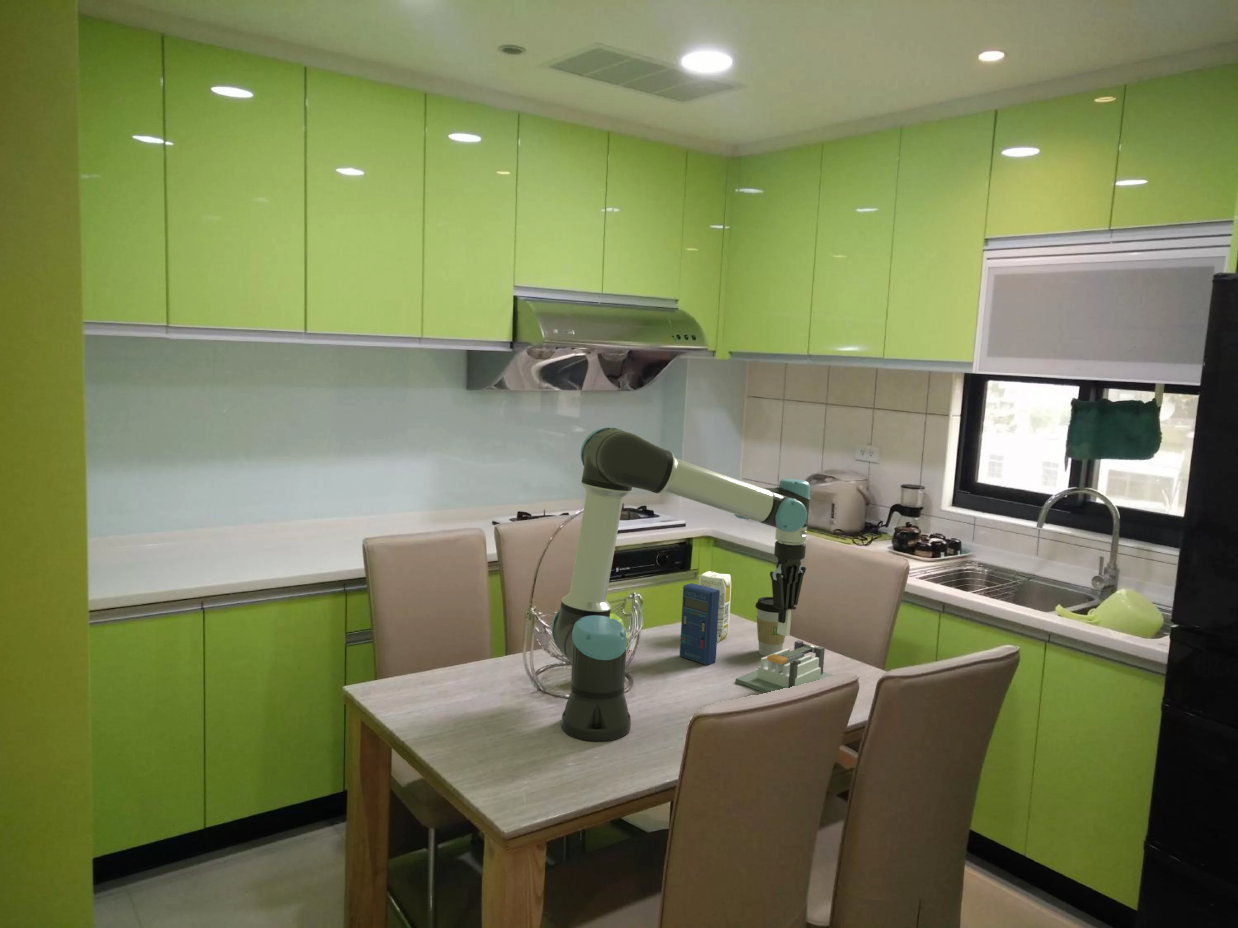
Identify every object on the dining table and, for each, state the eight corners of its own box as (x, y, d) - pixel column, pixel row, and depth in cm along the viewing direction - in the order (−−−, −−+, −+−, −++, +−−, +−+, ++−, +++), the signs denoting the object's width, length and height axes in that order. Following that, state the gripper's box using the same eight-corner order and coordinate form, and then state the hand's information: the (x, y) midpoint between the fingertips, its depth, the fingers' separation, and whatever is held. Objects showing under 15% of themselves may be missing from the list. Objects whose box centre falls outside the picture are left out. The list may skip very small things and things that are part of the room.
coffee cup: (790, 659, 246) (794, 606, 244) (755, 658, 246) (758, 605, 244) (784, 648, 255) (788, 596, 254) (750, 646, 256) (753, 595, 254)
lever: (780, 666, 221) (780, 660, 221) (766, 662, 224) (767, 656, 223) (817, 652, 233) (817, 646, 233) (804, 648, 236) (804, 642, 236)
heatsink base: (796, 703, 215) (798, 668, 214) (735, 682, 227) (737, 648, 226) (843, 681, 231) (845, 648, 230) (783, 662, 243) (785, 631, 242)
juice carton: (719, 643, 257) (723, 579, 254) (692, 638, 261) (696, 574, 259) (730, 637, 263) (734, 574, 261) (703, 631, 267) (707, 569, 265)
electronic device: (677, 657, 244) (681, 585, 242) (689, 652, 248) (693, 582, 245) (706, 666, 238) (710, 592, 235) (717, 661, 242) (721, 589, 239)
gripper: (789, 547, 214) (781, 643, 217) (817, 541, 224) (810, 633, 226) (762, 541, 219) (755, 635, 222) (791, 536, 229) (784, 625, 231)
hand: (783, 634), depth 224 cm, fingers closed
